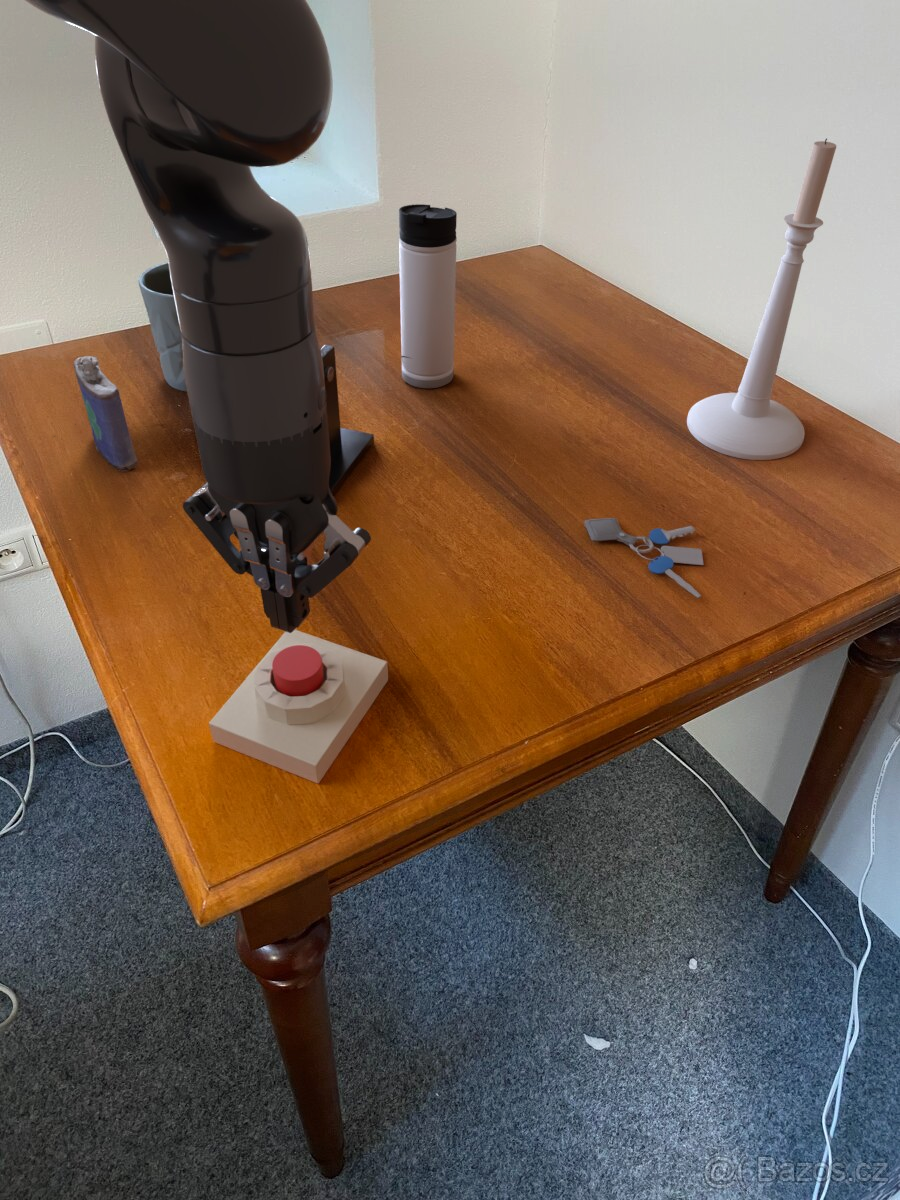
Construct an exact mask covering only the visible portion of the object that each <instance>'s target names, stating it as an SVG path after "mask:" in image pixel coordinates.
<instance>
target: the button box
mask: <svg viewBox="0 0 900 1200" xmlns="http://www.w3.org/2000/svg"><path fill="white" fill-rule="evenodd" d="M295 645H304V646H309V647H311V648H313V649H315V650H316V651H317V652H318V653H319V654H320V655H321V658H322V665H323V673H324V679H323V682H322V684H321V686H320V687H319V688H318V689H317V690H316V691H314V692H313V693H311V694H309V695H306V696H295V697H293V696H288V695H286V694H283V693H282V692H281V691H279V690H278V688H277V687H276V685H275V680H274V674H273V668H272V663H273V660H274V658H275V656H276V655H277V654H278V653H279V652H280V651H282V650H283V649H285V648H287V647H290V646H295ZM388 665H389V664H388V661H387V660H384V659H381V658H378V657H375V656H373V655H370V654H367V653H364V652H361V651H358V650H356V649H352V648H349V647H347V646H344V645H342V644H338V643H336V642H332V641H329V640H326V639H323V638H320V637H318V636H315V635H311V634H309V633H307V632H303V631H300V630H297V629H296V628H295V629H294V631H293V632H292V633H288V632H286V631H284V633H283V634H281V636H280V637H279V639H277V641H276V642H275V643H274V644H273V645H272V647H271V648H270V649H269V650H268V652H267V653H266V654H265V655H264V657H262V659H261V660H260V661H259V662H258V663H257V665H256V666H255V667H254V668H253V669H252V671H251V672H250V673H249V674H248V675H247V676H246V678H245V679H244V680H243V682H241V683H240V685H239V686H238V687H237V688H236V690H235V691H234V692H233V693H232V695H231V696H230V697H229V698H228V699H227V700H226V701H225V703H224V704H223V705H222V706H221V708H220V709H218V711H217V712H216V714H215V715H213V717H212V719H211V720H210V721H209V722H208V726H209V730H210V734H211V737H212V741H213V743H215V744H218V745H221V746H222V747H226V748H228V749H230V750H233V751H236V752H238V753H240V754H242V755H246V756H248V757H250V758H253V759H255V760H258V761H260V762H263V763H265V764H268V765H270V766H273V767H275V768H278V769H280V770H282V771H285V772H288V773H290V774H292V775H295V776H298V777H301V778H303V779H305V780H308V781H310V782H313V783H315V784H320V782H321V781H322V779H323V778H324V776H325V775H326V773H327V772H328V770H329V769H330V768H331V766H332V765H333V763H334V761H335V760H336V758H337V757H338V756H339V754H340V753H341V751H342V749H343V748H344V746H345V745H346V744H347V742H348V741H349V740H350V738H351V736H352V735H353V733H354V732H355V730H356V729H357V728H358V726H359V724H360V723H361V722H362V720H363V718H364V717H365V716H366V714H367V713H368V712H369V710H370V708H371V706H373V704H374V702H375V700H376V699H377V697H379V695H380V693H381V691H382V690H383V689H384V687H385V685H386V684H387V683H388V681H389V667H388Z"/></svg>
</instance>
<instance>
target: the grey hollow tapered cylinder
mask: <svg viewBox="0 0 900 1200" xmlns="http://www.w3.org/2000/svg"><path fill="white" fill-rule="evenodd" d="M137 282H138V287H139V291H140V293H141V296H142V297H141V298H142V300H143V304H144V307H145V309H146V313H147V317H148V321H149V325H150V331H151V335H152V338H153V339H154V341H153V342H154V345H155V349H156V351H157V353H158V354H159V363H160V367H161V370H162V373H163V377H164V380H165V381H166V384H167V385H168V386H170V387H171V388H172V389H175V390H178V391H181V392H186V393H188V392H187V387H186V382H185V376H184V367H183V345H182V337H181V330H180V325H179V320H178V315H177V310H176V304H175V299H174V294H173V289H172V283H171V278H170V271H169V263H168V261H167V262H164V263H159V264H157V265H153V266H152V267H149V268H148V269H146V270H144V271H143V272H142V273H141V274H140V275H139V277H138V280H137Z"/></svg>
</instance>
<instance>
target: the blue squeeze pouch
mask: <svg viewBox="0 0 900 1200" xmlns="http://www.w3.org/2000/svg"><path fill="white" fill-rule="evenodd" d="M73 369H74V373H75V378H76V380H77V383H78V387H79V388H80V393H81V397H82V400H83V404H84V407H85V412H86V414H87V419H88V422H89V425H90V429H91V433H92V437H93V443H94V447H95V449H96V451H97V452H98V454H100V455H101V457H102V458H103V459H104V461H105V462H107V464H108V465H109V466H111V468H113V469H115V470H116V471H118V472H119V471H120V472H129V471H130V470H132V469H136V468H137V465H138V459H137V456H136V454H135V453H136V452H135V449H134V445H133V441H132V438H131V435H130V431H129V427H128V424H127V419H126V416H125V415H126V414H125V411H124V407H123V403H122V398H121V394H120V391H119V388H118V386H117V385H116V384H114V383H113V382H112V381H110V380H109V379H108V377H107V376H106V375H105V374H104V373H103V371H102V370H101V366H100V362H99V358H98V357H95V356H92V355H85V356H84V355H83V356H81V357H77V358H76V359H75V360H74V362H73Z"/></svg>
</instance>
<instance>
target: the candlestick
mask: <svg viewBox="0 0 900 1200" xmlns="http://www.w3.org/2000/svg"><path fill="white" fill-rule="evenodd" d="M836 150H837V144H836V143H834V142H830V141H828V138H825V139H824V141H823V140H821V141H820V140H819V141H818V140H817V141H814V142H813V144H812V148H811V152H810V156H809V159H808V162H807V167H806V169H805V174H804V177H803V181H802V183H801V187H800V191H799V195H798V199H797V202H796V206H795V210H794V213H791V214H790V213H789V214H787V215H785V216H784V217H783V220H784V222H785V223H786V225H787V229H786V231H785V233H784V238H785V240H786V241H787V242H786V251H785V253H784V254H783V255H782V256H781V258H780V260H781V261H780V264H779V267H778V268H777V269H778V270H777V273H776V276H775V278H774V281H773V285H772V288H771V291H770V294H769V297H768V300H767V303H766V306H765V310H764V313H763V315H762V318H761V322H760V324H759V327H758V330H757V333H756V337H755V339H754V342H753V345H752V348H751V351H750V353H749V354H750V355H749V358H748V360H747V363H746V366H745V369H744V373H743V375H742V379H741V381H740V384H739V386H738V389H737V392H724V393H718V394H714V395H710V396H707V397H705V398H703V399H701V400H699V401H697V402H695V404H693V405H692V406H691V407H690V409H689V410H688V414H687V417H686V425H687V429H688V430H689V432H690V434H691V435H692V436H693V438H695V440H697V441H698V442H699V443H701V444H702V445H704V446H705V447H707V448H709V449H711V450H713V451H715V452H717V453H720V454H723V455H724V456H725V455H726V456H729V457H733V458H737V459H743V460H750V461H770V460H777V459H782V458H785V457H788V456H790V455H792V454H794V453H796V452H797V451H798V450H799V449H800V448H801V447H802V445H803V443H804V440H805V428H804V425H803V424H802V422H801V420H800V419H799V418H798V417H797V416H796V414H795V413H794V412H792V410H790V409H789V408H788V407H786V406H785V405H783V404H781V403H780V402H777V401H776V400H773V399H771V397H772V395H773V388H774V384H775V378H776V374H777V370H778V367H779V363H780V358H781V354H782V350H783V345H784V342H785V338H786V333H787V328H788V325H789V320H790V316H791V312H792V308H793V305H794V300H795V295H796V290H797V286H798V283H799V278H800V276H801V275H800V273H801V270H802V266H803V263H804V262H805V260H804V257H803V255H804V251H805V250H806V249H807V247H808V244H810V243H811V242H813V240H814V239H815V238H814V237H815V231H816V230H817V229H818V228H820V227H822V226H823V225H824V221H823V220H822V219H821V218H819V217H817V215H818V212H819V208H820V204H821V201H822V198H823V194H824V191H825V188H826V184H827V181H828V177H829V174H830V170H831V167H832V163H833V160H834V157H835V153H836Z"/></svg>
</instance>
